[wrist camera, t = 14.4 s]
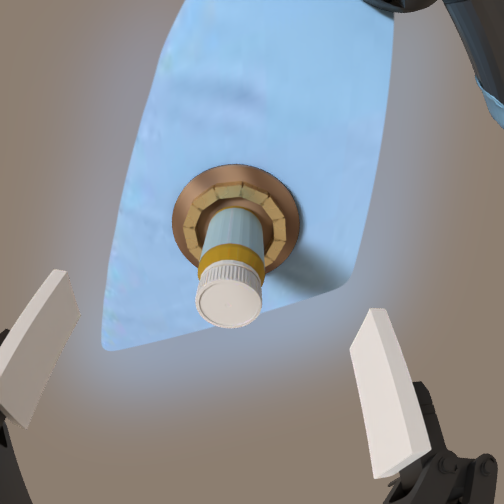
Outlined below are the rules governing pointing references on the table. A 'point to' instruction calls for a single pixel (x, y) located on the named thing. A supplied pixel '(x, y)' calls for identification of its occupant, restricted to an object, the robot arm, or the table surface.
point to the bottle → (231, 269)
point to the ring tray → (236, 194)
